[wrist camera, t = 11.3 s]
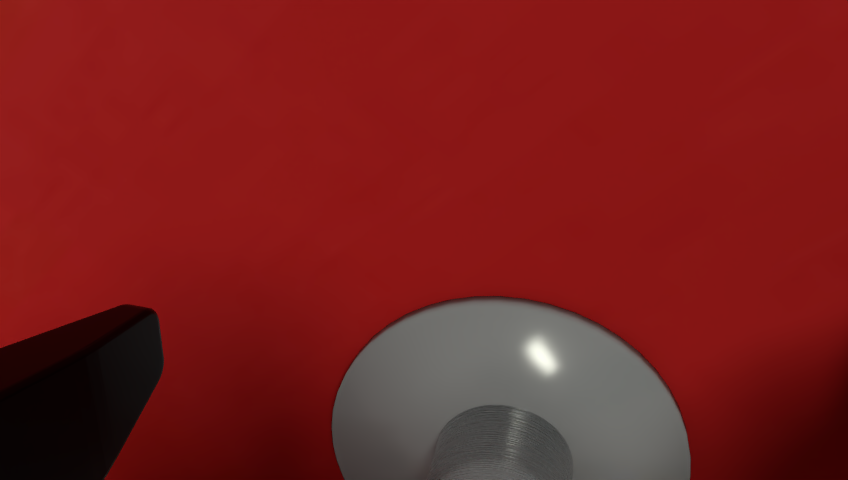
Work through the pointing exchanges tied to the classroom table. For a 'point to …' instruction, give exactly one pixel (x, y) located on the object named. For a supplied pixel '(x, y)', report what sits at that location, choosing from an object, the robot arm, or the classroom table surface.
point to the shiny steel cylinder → (500, 447)
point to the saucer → (506, 390)
